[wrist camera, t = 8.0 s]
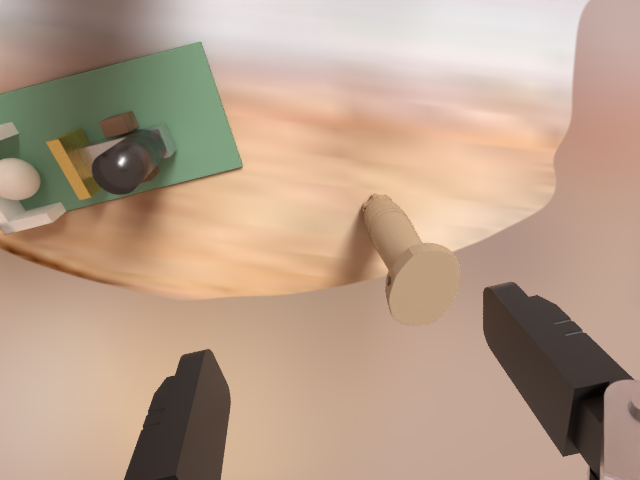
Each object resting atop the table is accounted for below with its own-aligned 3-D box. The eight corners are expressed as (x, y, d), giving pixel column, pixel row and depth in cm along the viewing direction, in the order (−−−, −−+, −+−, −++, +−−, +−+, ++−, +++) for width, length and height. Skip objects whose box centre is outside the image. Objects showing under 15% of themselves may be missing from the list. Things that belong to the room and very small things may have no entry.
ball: (24, 154, 31) (26, 149, 34) (-27, 170, 30) (-20, 164, 33) (48, 194, 33) (49, 186, 36) (1, 211, 32) (6, 201, 35)
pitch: (-53, 107, 32) (-56, 108, 32) (200, 41, 31) (200, 41, 31) (24, 220, 37) (21, 222, 37) (242, 165, 37) (242, 166, 36)
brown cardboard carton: (110, 116, 33) (97, 122, 31) (132, 110, 33) (121, 116, 31) (139, 176, 36) (129, 185, 33) (159, 171, 36) (151, 180, 33)
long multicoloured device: (159, 107, 33) (119, 132, 24) (182, 163, 35) (152, 201, 27) (70, 130, 33) (0, 162, 25) (99, 184, 35) (44, 229, 27)
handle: (348, 231, 41) (381, 323, 28) (361, 174, 38) (404, 247, 25) (390, 236, 42) (442, 328, 29) (406, 180, 39) (472, 254, 26)
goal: (-35, 133, 33) (-62, 142, 30) (15, 120, 33) (-8, 128, 30) (24, 220, 37) (4, 234, 34) (68, 209, 37) (52, 222, 34)
